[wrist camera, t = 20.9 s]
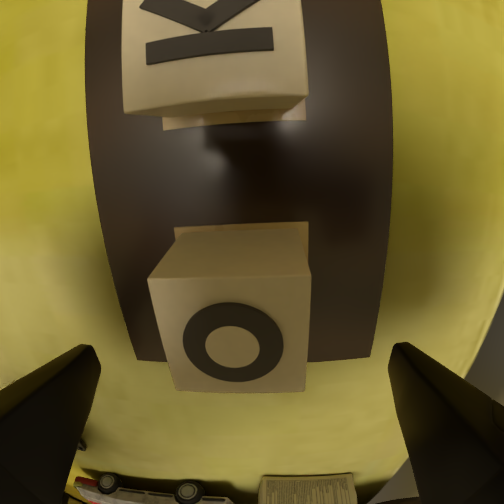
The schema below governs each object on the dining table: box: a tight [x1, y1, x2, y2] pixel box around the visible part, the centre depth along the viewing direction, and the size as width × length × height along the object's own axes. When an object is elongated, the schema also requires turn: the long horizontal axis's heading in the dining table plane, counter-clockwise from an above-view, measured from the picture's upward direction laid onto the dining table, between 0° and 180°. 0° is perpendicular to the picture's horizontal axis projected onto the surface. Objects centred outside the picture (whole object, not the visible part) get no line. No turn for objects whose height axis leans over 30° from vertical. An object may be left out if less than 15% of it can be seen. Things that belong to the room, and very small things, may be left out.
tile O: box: [147, 228, 311, 393], centre depth 11 cm, size 4×4×4 cm
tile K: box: [122, 0, 309, 118], centre depth 7 cm, size 4×4×4 cm
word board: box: [85, 0, 393, 362], centre depth 11 cm, size 18×12×1 cm, turn 3°
